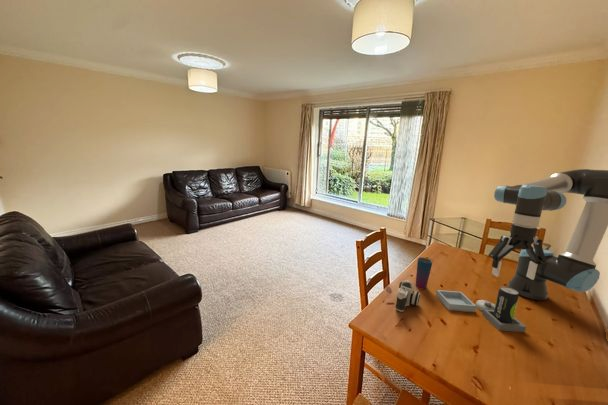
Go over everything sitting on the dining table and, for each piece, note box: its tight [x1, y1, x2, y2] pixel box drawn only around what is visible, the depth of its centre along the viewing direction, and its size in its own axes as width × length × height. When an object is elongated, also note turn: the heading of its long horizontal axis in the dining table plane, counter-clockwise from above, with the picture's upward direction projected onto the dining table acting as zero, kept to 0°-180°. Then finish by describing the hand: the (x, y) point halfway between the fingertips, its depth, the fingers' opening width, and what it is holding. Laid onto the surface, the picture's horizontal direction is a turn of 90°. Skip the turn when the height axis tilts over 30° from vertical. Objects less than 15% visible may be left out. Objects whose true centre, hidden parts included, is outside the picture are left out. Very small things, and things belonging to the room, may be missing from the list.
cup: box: [415, 256, 433, 290], centre depth 126 cm, size 7×7×15 cm
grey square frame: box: [475, 299, 527, 333], centre depth 106 cm, size 10×18×3 cm, turn 178°
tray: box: [435, 289, 477, 313], centre depth 114 cm, size 12×12×3 cm
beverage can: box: [493, 286, 520, 324], centre depth 100 cm, size 6×6×15 cm
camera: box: [395, 279, 421, 313], centre depth 111 cm, size 16×9×10 cm, turn 147°
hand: (512, 276), depth 98 cm, fingers open, 13 cm apart
